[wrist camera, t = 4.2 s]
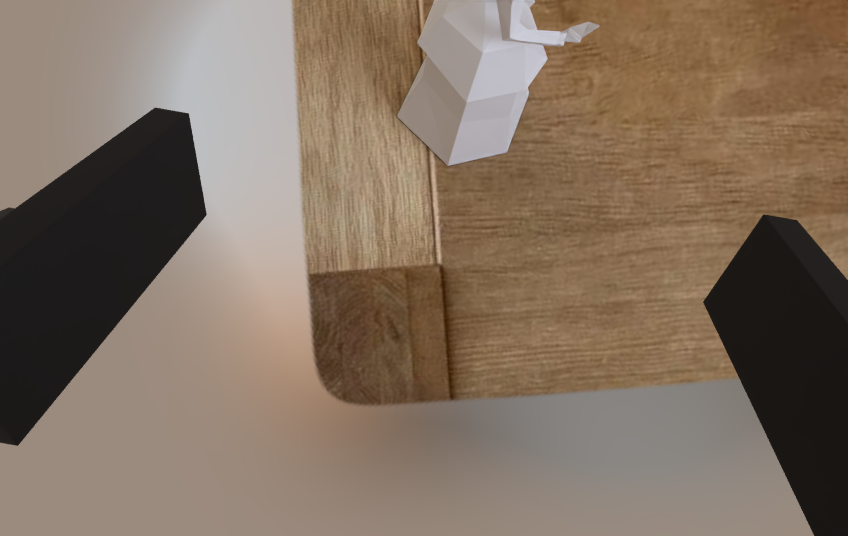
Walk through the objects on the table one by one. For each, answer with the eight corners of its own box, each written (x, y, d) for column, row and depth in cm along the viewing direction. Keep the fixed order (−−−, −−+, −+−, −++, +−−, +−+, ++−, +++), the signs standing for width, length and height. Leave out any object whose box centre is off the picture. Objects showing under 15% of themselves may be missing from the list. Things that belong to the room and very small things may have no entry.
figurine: (542, 143, 30) (738, -114, 12) (413, 176, 29) (411, -36, 12) (510, 34, 30) (651, -367, 12) (383, 66, 30) (337, -300, 12)
